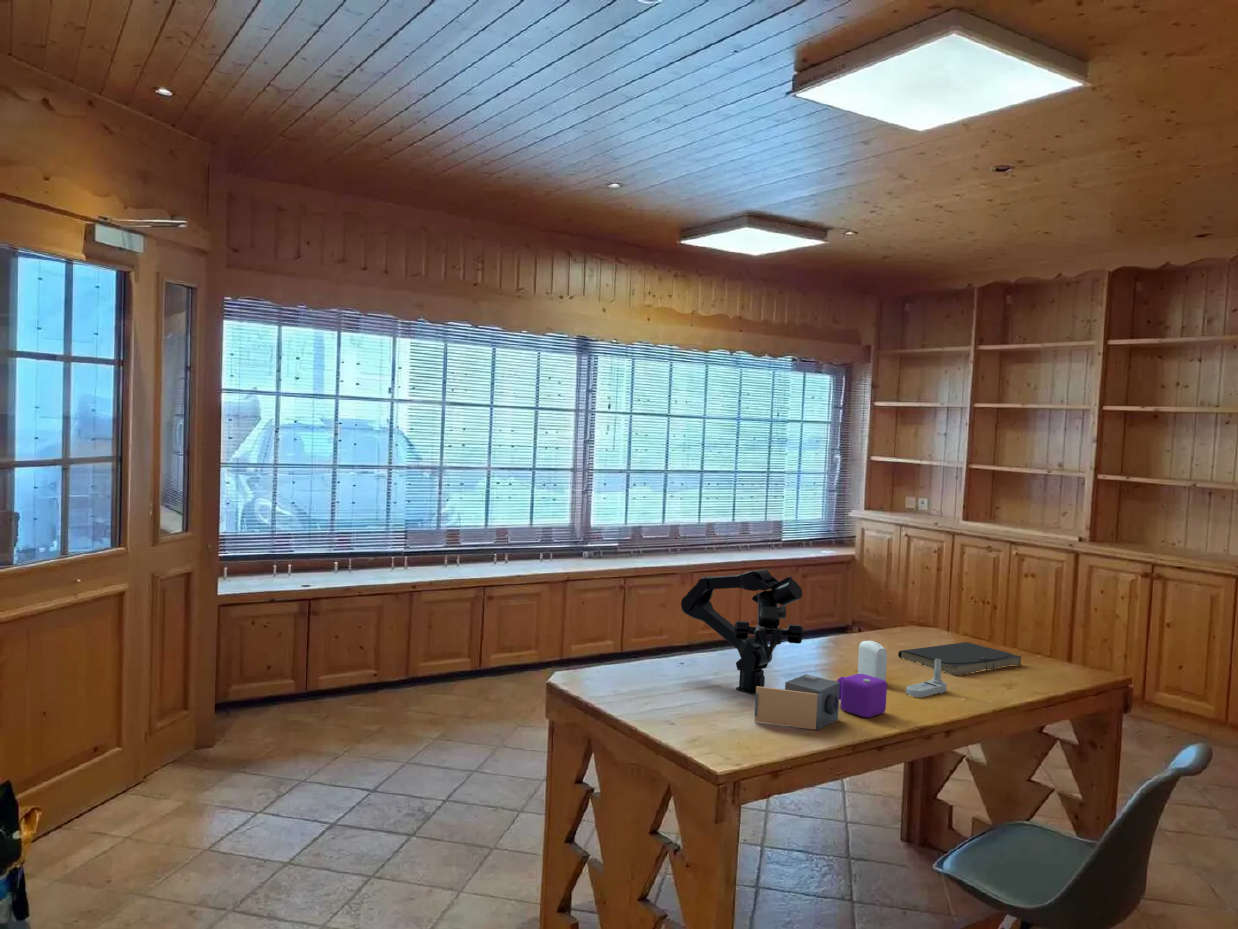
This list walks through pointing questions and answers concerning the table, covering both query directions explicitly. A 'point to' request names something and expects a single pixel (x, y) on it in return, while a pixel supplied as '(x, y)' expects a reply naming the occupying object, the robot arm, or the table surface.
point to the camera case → (819, 687)
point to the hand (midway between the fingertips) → (768, 659)
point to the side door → (788, 707)
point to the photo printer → (872, 659)
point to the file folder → (961, 657)
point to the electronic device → (928, 684)
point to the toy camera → (863, 695)
